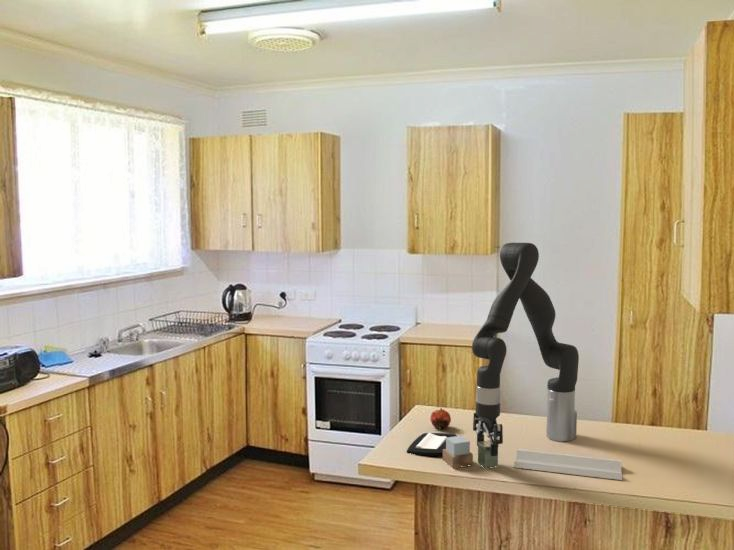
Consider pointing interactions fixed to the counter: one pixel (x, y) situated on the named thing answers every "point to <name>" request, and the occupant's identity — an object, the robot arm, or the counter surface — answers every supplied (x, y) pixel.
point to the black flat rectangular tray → (429, 444)
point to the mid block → (457, 445)
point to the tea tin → (486, 455)
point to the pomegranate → (440, 418)
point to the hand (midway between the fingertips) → (487, 450)
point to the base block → (457, 459)
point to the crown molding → (568, 464)
